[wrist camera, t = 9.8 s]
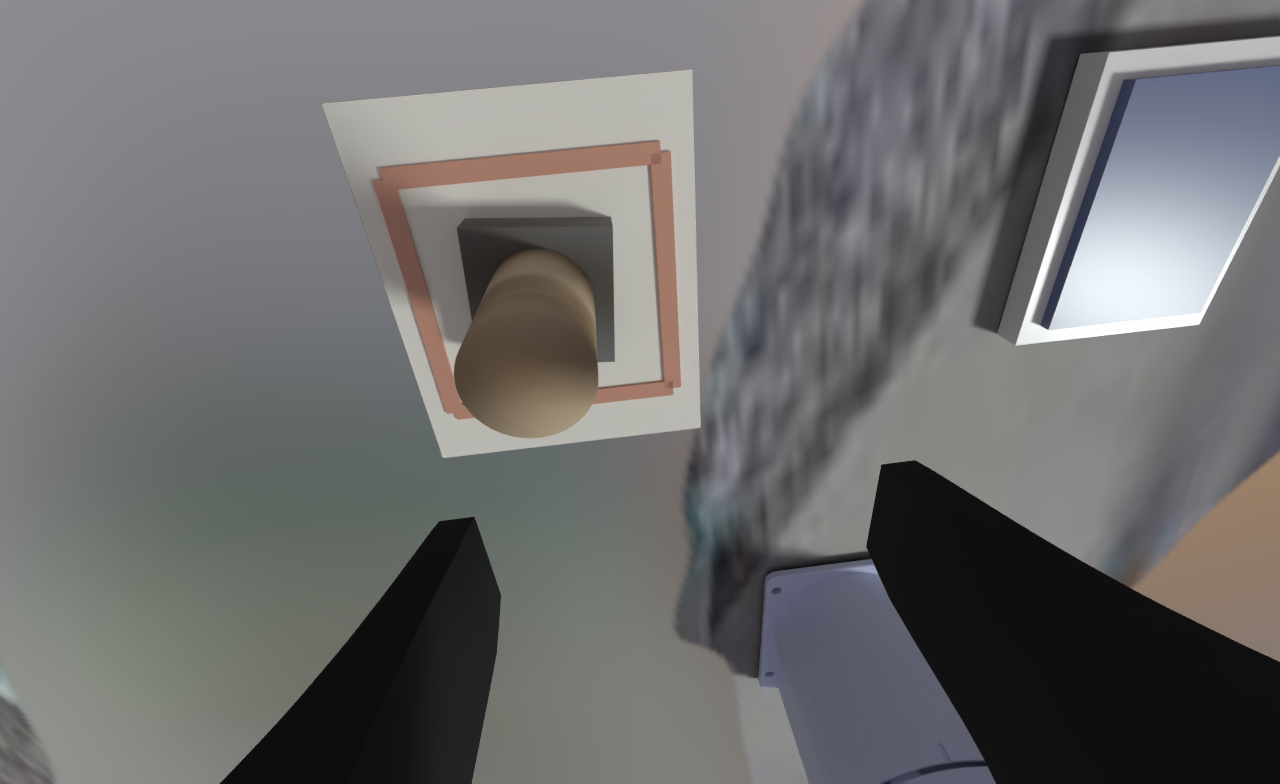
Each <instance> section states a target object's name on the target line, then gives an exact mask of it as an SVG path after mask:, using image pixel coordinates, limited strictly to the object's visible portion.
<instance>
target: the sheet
mask: <svg viewBox="0 0 1280 784" xmlns="http://www.w3.org/2000/svg"><path fill="white" fill-rule="evenodd" d="M322 106H323V109H324V112H325V115H326V118H327V121H328V123H329V126H330V129H331V132H332V135H333V138H334V141H335V144H336V147H337V150H338V153H339V156H340V159H341V162H342V165H343V167H344V170H345V173H346V176H347V179H348V182H349V185H350V188H351V191H352V193H353V196H354V199H355V203H356V206H357V208H358V211H359V214H360V217H361V220H362V223H363V226H364V228H365V232H366V235H367V238H368V240H369V244H370V246H371V249H372V252H373V255H374V258H375V261H376V264H377V267H378V270H379V273H380V276H381V278H382V281H383V284H384V287H385V290H386V293H387V296H388V299H389V302H390V305H391V308H392V311H393V314H394V317H395V319H396V322H397V325H398V328H399V331H400V334H401V337H402V340H403V343H404V346H405V349H406V352H407V354H408V357H409V360H410V363H411V366H412V369H413V372H414V375H415V378H416V381H417V383H418V387H419V389H420V392H421V395H422V398H423V401H424V404H425V407H426V410H427V413H428V416H429V419H430V422H431V424H432V427H433V430H434V433H435V436H436V439H437V442H438V445H439V448H440V451H441V454H442V457H443V458H447V457H456V456H464V455H473V454H481V453H489V452H498V451H506V450H515V449H524V448H532V447H540V446H549V445H558V444H566V443H575V442H583V441H591V440H600V439H609V438H616V437H625V436H634V435H643V434H651V433H660V432H668V431H677V430H685V429H694V428H701V427H700V385H699V347H698V346H699V344H698V343H699V342H698V300H697V258H696V257H697V256H696V216H695V215H696V214H695V171H694V129H693V87H692V70H682V71H681V70H680V71H669V72H658V73H647V74H636V75H626V76H615V77H604V78H593V79H582V80H571V81H561V82H549V83H539V84H527V85H517V86H506V87H496V88H484V89H473V90H462V91H451V92H440V93H430V94H418V95H408V96H397V97H386V98H375V99H364V100H353V101H342V102H331V103H322ZM556 217H611V219H612V225H613V269H614V334H615V362H598V389H597V394H596V397H595V400H594V402H593V404H592V406H591V408H590V409H589V410H588V412H587V413H586V415H585V416H584V417H583V418H582V419H581V420H580V421H578V422H577V423H576V424H575V425H573V426H572V427H570V428H568V429H567V430H565V431H562V432H560V433H558V434H554V435H551V436H547V437H541V438H519V437H513V436H509V435H505V434H502V433H499V432H497V431H495V430H493V429H491V428H489V427H487V426H486V425H484V424H482V423H481V422H480V421H479V420H477V419H476V418H475V417H474V416H473V415H472V414H471V413H470V412H469V411H468V410H467V408H466V407H465V406H464V404H463V402H462V401H461V399H460V397H459V395H458V392H457V389H456V386H455V381H454V365H455V360H456V356H457V354H458V351H459V349H460V347H461V344H462V342H463V340H464V338H465V336H466V333H467V331H468V329H469V327H470V325H471V322H472V319H471V313H470V307H469V301H468V294H467V288H466V282H465V276H464V270H463V264H462V258H461V252H460V245H459V239H458V233H457V227H458V226H459V225H460V224H461V222H462V221H463V220H464V219H465V218H556Z"/></svg>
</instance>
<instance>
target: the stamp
mask: <svg viewBox="0 0 1280 784" xmlns="http://www.w3.org/2000/svg"><path fill="white" fill-rule="evenodd" d="M457 233H458V239H459V245H460V252H461V258H462V264H463V270H464V276H465V282H466V288H467V294H468V301H469V307H470V313H471V319H472V322H471V325H470V327H469V329H468V331H467V333H466V336H465V338H464V340H463V342H462V344H461V347H460V349H459V351H458V354H457V356H456V360H455V365H454V381H455V386H456V389H457V392H458V395H459V397H460V399H461V401H462V402H463V404H464V406H465V407H466V408H467V410H468V411H469V412H470V413H471V414H472V415H473V416H474V417H475V418H476V419H477V420H479V421H480V422H481V423H482V424H484V425H486V426H487V427H489V428H491V429H493V430H495V431H497V432H499V433H502V434H505V435H509V436H513V437H519V438H541V437H547V436H551V435H554V434H558V433H560V432H562V431H565V430H567V429H568V428H570V427H572V426H573V425H575V424H576V423H577V422H578V421H580V420H581V419H582V418H583V417H584V416H585V415H586V413H587V412H588V410H589V409H590V408H591V406H592V404H593V402H594V400H595V397H596V394H597V389H598V362H615V334H614V269H613V225H612V219H611V217H556V218H465V219H464V220H463V221H462V222H461V224H460V225H459V226H458V227H457Z"/></svg>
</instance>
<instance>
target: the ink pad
mask: <svg viewBox="0 0 1280 784" xmlns="http://www.w3.org/2000/svg"><path fill="white" fill-rule="evenodd" d="M1279 166H1280V35H1276V36H1266V37H1255V38H1244V39H1234V40H1223V41H1212V42H1201V43H1191V44H1180V45H1169V46H1158V47H1148V48H1137V49H1126V50H1116V51H1105V52H1094V53H1083V54H1080V56H1079V60H1078V63H1077V67H1076V70H1075V73H1074V77H1073V80H1072V83H1071V87H1070V90H1069V94H1068V97H1067V100H1066V104H1065V107H1064V110H1063V114H1062V117H1061V120H1060V124H1059V127H1058V131H1057V134H1056V137H1055V141H1054V144H1053V147H1052V151H1051V154H1050V158H1049V161H1048V164H1047V168H1046V171H1045V174H1044V178H1043V181H1042V185H1041V188H1040V191H1039V195H1038V198H1037V201H1036V205H1035V208H1034V211H1033V215H1032V218H1031V222H1030V225H1029V228H1028V232H1027V235H1026V238H1025V242H1024V245H1023V249H1022V252H1021V255H1020V259H1019V262H1018V265H1017V269H1016V272H1015V276H1014V279H1013V282H1012V286H1011V289H1010V292H1009V296H1008V299H1007V302H1006V306H1005V309H1004V313H1003V316H1002V319H1001V323H1000V326H999V329H998V333H997V334H998V335H999V336H1001V337H1003V338H1004V339H1006V340H1007V341H1009V342H1011V343H1012V344H1014V345H1024V344H1033V343H1042V342H1050V341H1059V340H1068V339H1077V338H1085V337H1094V336H1103V335H1112V334H1120V333H1129V332H1138V331H1146V330H1155V329H1164V328H1173V327H1181V326H1190V325H1199V323H1200V321H1201V319H1202V317H1203V316H1204V314H1205V312H1206V310H1207V308H1208V306H1209V304H1210V302H1211V300H1212V298H1213V296H1214V294H1215V292H1216V290H1217V288H1218V286H1219V284H1220V282H1221V280H1222V278H1223V276H1224V274H1225V272H1226V270H1227V268H1228V266H1229V264H1230V262H1231V260H1232V258H1233V256H1234V254H1235V252H1236V251H1237V249H1238V247H1239V245H1240V243H1241V241H1242V239H1243V237H1244V235H1245V233H1246V231H1247V229H1248V227H1249V225H1250V223H1251V221H1252V219H1253V217H1254V215H1255V213H1256V211H1257V209H1258V207H1259V205H1260V203H1261V201H1262V199H1263V197H1264V195H1265V193H1266V191H1267V189H1268V187H1269V186H1270V184H1271V182H1272V180H1273V178H1274V176H1275V174H1276V172H1277V170H1278V168H1279Z"/></svg>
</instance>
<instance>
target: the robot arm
mask: <svg viewBox="0 0 1280 784" xmlns="http://www.w3.org/2000/svg"><path fill="white" fill-rule="evenodd" d="M866 547H867V549H868V552H869V554H870V556H871V559H867V560H859V561H851V562H843V563H836V564H828V565H820V566H812V567H805V568H797V569H789V570H781V571H774V572H771V573H770V574H768V575H767V576H766V578H765V587H764V603H763V618H762V633H761V649H760V664H759V679H758V680H759V683H760V687H761V688H763V689H773V688H779V691H780V694H781V697H782V700H783V703H784V707H785V710H786V713H787V716H788V719H789V722H790V725H791V729H792V732H793V735H794V738H795V741H796V744H797V747H798V750H799V754H800V757H801V760H802V763H803V766H804V769H805V772H806V776H807V779H808V782H809V784H1280V662H1278V661H1276V660H1274V659H1272V658H1270V657H1268V656H1265V655H1263V654H1261V653H1259V652H1257V651H1255V650H1253V649H1251V648H1248V647H1246V646H1244V645H1242V644H1240V643H1238V642H1235V641H1234V640H1231V639H1230V638H1227V637H1226V636H1224V635H1221V634H1219V633H1217V632H1215V631H1213V630H1211V629H1209V628H1207V627H1205V626H1203V625H1201V624H1199V623H1197V622H1195V621H1193V620H1191V619H1189V618H1187V617H1185V616H1183V615H1181V614H1179V613H1177V612H1175V611H1173V610H1171V609H1169V608H1167V607H1165V606H1163V605H1161V604H1159V603H1157V602H1155V601H1153V600H1152V599H1150V598H1148V597H1146V596H1144V595H1142V594H1140V593H1138V592H1136V591H1134V590H1133V589H1131V588H1129V587H1127V586H1125V585H1124V584H1122V583H1120V582H1118V581H1116V580H1115V579H1113V578H1111V577H1109V576H1107V575H1106V574H1104V573H1102V572H1100V571H1098V570H1097V569H1095V568H1093V567H1091V566H1089V565H1087V564H1086V563H1084V562H1082V561H1080V560H1079V559H1077V558H1075V557H1074V556H1072V555H1070V554H1068V553H1067V552H1065V551H1063V550H1061V549H1060V548H1058V547H1056V546H1055V545H1053V544H1051V543H1050V542H1048V541H1046V540H1045V539H1043V538H1041V537H1040V536H1038V535H1036V534H1035V533H1033V532H1031V531H1030V530H1028V529H1026V528H1025V527H1023V526H1021V525H1020V524H1018V523H1016V522H1015V521H1013V520H1012V519H1010V518H1008V517H1007V516H1005V515H1003V514H1002V513H1000V512H999V511H997V510H995V509H994V508H992V507H991V506H989V505H987V504H986V503H984V502H983V501H981V500H979V499H978V498H976V497H975V496H973V495H971V494H970V493H968V492H967V491H965V490H963V489H962V488H960V487H959V486H957V485H955V484H954V483H952V482H951V481H949V480H947V479H946V478H944V477H943V476H941V475H939V474H938V473H936V472H934V471H933V470H931V469H929V468H928V467H926V466H924V465H922V464H921V463H919V462H917V461H915V460H914V461H906V462H898V463H891V464H883V465H881V470H880V475H879V481H878V486H877V491H876V497H875V502H874V508H873V513H872V519H871V524H870V530H869V535H868V540H867V546H866ZM500 601H501V594H500V591H499V588H498V585H497V582H496V579H495V576H494V573H493V570H492V567H491V564H490V561H489V558H488V555H487V552H486V549H485V547H484V544H483V541H482V538H481V535H480V532H479V529H478V526H477V523H476V520H475V518H474V517H469V518H461V519H454V520H446V521H439V522H438V524H437V525H436V526H435V527H434V528H433V530H432V531H431V532H430V534H429V535H428V536H427V538H426V539H425V540H424V542H423V543H422V545H421V546H420V547H419V548H418V550H417V551H416V553H415V554H414V555H413V556H412V558H411V559H410V560H409V562H408V563H407V564H406V566H405V567H404V569H403V570H402V571H401V573H400V574H399V575H398V577H397V578H396V579H395V581H394V582H393V583H392V585H391V586H390V587H389V588H388V590H387V591H386V592H385V594H384V595H383V596H382V598H381V599H380V601H378V603H377V604H376V605H375V607H374V608H373V609H372V610H371V612H370V613H369V614H368V616H367V617H366V618H365V619H364V621H363V622H362V623H361V625H360V626H359V627H358V628H357V630H356V631H355V632H354V633H353V635H352V636H351V637H350V638H349V640H348V641H347V642H346V643H345V645H344V646H343V647H342V648H341V649H340V651H339V652H338V653H337V654H336V655H335V657H334V658H333V659H332V660H331V661H330V662H329V664H328V665H327V666H326V667H325V668H324V670H323V671H322V672H321V673H320V674H319V675H318V677H317V678H316V679H315V680H314V681H313V683H312V684H311V685H310V686H309V687H308V689H307V690H306V691H305V692H304V693H303V694H302V696H301V697H300V698H299V699H298V700H297V701H296V702H295V704H294V705H293V706H292V707H291V708H290V709H289V710H288V712H287V713H286V714H285V715H284V716H283V717H282V718H281V719H280V720H279V721H278V723H277V724H276V725H275V726H274V727H273V728H272V729H271V730H270V731H269V732H268V733H267V735H266V736H265V737H264V738H263V739H262V740H261V741H260V742H259V743H258V744H257V745H256V746H255V747H254V749H252V750H251V752H250V753H249V754H248V755H247V756H246V757H245V758H244V759H243V760H242V761H241V762H240V763H239V764H238V765H237V766H236V767H235V769H233V770H232V772H231V773H230V774H229V775H228V776H227V777H226V778H225V779H224V780H223V781H222V782H221V783H220V784H472V778H473V773H474V768H475V763H476V757H477V753H478V748H479V742H480V737H481V732H482V727H483V722H484V717H485V712H486V707H487V702H488V696H489V691H490V686H491V681H492V675H493V670H494V664H495V659H496V653H497V642H498V631H499V616H500Z"/></svg>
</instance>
